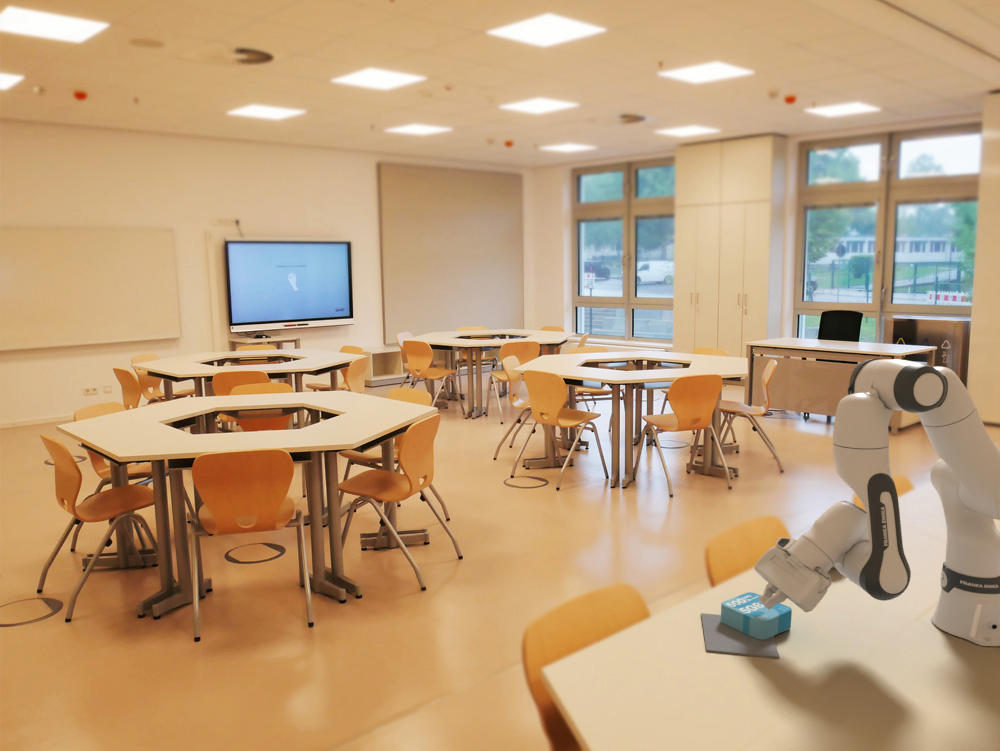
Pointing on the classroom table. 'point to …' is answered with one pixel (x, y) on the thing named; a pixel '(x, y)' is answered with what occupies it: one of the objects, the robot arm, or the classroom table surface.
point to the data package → (755, 616)
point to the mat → (734, 640)
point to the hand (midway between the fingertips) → (763, 604)
